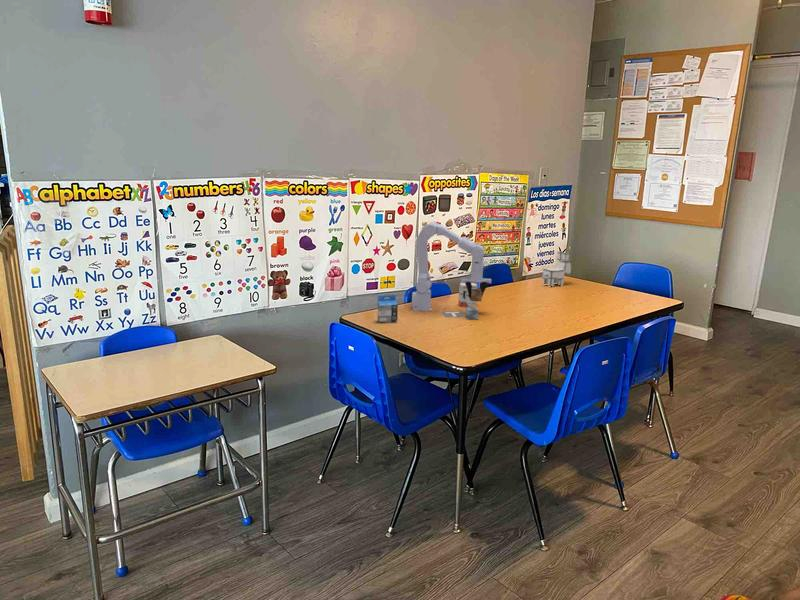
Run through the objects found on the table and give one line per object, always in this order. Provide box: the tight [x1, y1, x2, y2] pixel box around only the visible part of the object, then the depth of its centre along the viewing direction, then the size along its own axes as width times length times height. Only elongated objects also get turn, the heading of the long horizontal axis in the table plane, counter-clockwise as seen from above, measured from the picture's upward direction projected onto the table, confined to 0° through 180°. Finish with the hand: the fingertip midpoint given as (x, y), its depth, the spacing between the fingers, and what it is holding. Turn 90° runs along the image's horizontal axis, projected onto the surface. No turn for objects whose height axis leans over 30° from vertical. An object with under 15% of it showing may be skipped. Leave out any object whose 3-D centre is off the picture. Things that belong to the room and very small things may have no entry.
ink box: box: [457, 282, 478, 308], centre depth 308 cm, size 8×5×12 cm, turn 99°
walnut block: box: [469, 288, 483, 302], centre depth 293 cm, size 5×5×5 cm
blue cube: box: [464, 306, 479, 321], centre depth 286 cm, size 5×5×5 cm
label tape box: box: [377, 294, 399, 323], centre depth 277 cm, size 9×4×12 cm, turn 105°
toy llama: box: [541, 250, 573, 286], centre depth 361 cm, size 8×18×20 cm, turn 117°
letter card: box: [441, 311, 466, 318], centre depth 293 cm, size 10×10×1 cm
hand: (475, 297), depth 294 cm, fingers closed on walnut block, 5 cm apart
